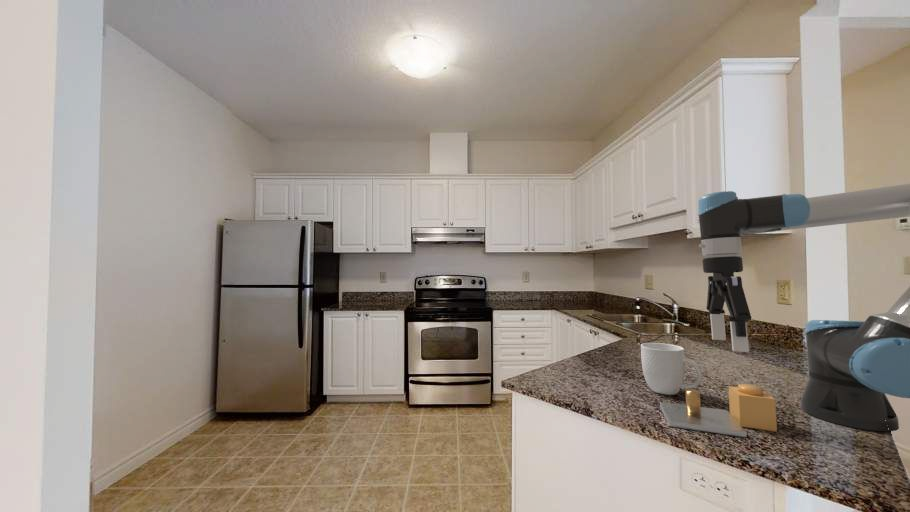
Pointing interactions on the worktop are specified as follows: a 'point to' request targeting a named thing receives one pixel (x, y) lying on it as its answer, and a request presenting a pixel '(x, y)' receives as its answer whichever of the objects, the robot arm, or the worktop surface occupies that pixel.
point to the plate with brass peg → (700, 416)
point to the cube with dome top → (752, 407)
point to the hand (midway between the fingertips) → (729, 345)
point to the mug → (666, 368)
